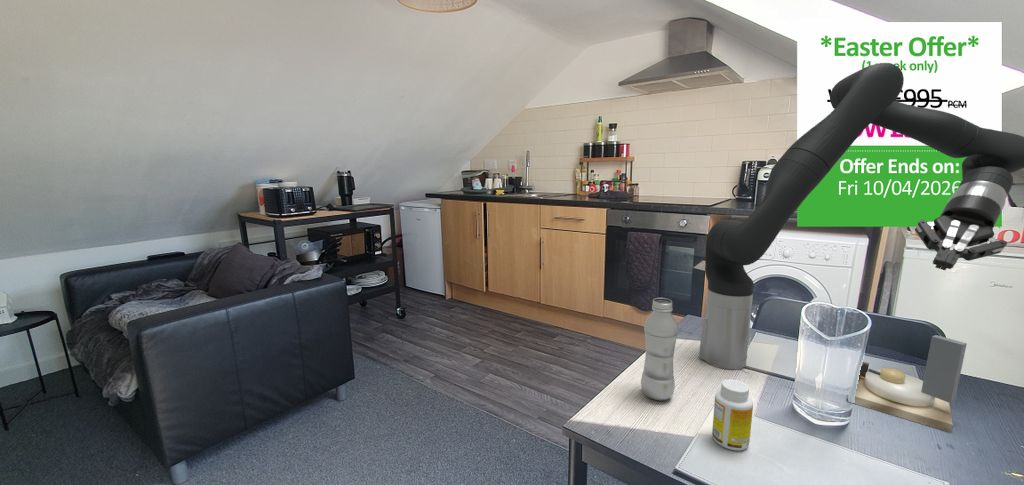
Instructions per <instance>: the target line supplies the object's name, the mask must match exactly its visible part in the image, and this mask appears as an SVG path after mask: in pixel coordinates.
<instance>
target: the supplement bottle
mask: <svg viewBox="0 0 1024 485" xmlns="http://www.w3.org/2000/svg"><path fill="white" fill-rule="evenodd" d="M749 392H750V387H749V386H748V385H747V384H746V383H745V382H742V381H740V380H736V379H730V378H729V379H724V380H722V382H721V386H720V389H719V390H717V391H716V392H715V395H714V405H713V419H712V428H711V429H712V430H711V435H712V438H713V440H714V441H715V443H717V444H718V445H719V446H721V447H722V448H725V449H728V450H731V451H738V452H739V451H744V450H746V449H748V448H749V445H750V442H751V440H750V439H751V430H752V419H753V411H754V401H753V399H752V397H750V394H749Z"/></svg>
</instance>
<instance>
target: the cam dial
mask: <svg viewBox="0 0 1024 485" xmlns="http://www.w3.org/2000/svg"><path fill="white" fill-rule="evenodd" d="M966 348H967V342H963V341H959V340H956V339H952V338H948V337H945V336H940V335H937V334H935V335H932V336H931V339H930V344H929V350H928V353H927V354H928V355H927V361H926V364H925V365H926V366H925V371H924V374H923V376H924V377H923V380H922V379H920V378H917V377H914V376H913V375H909V374H906V373H905V372H903V371H902V370H899V369H896V368H891V367H882V368H880V369H872V368H868V372H866V376H865V382H864V384H865V386H866V387H867V388H868V389H869V390H870V391H872V392H873V393H875V394H877V395H879V396H881V397H883V398H886V399H888V400H891V401H894V402H897V403H901V404H906V405H911V406H920V407H925V406H931V405H933V404H934V402H935V398H938V399H941V400H943V401H946V402H949V404H952V403H954V402H955V401H956V398H957V397H956V396H957V392H958V387H959V383H960V377H961V372H962V368H963V363H964V359H965V355H966V354H965V353H966Z"/></svg>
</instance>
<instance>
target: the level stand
mask: <svg viewBox="0 0 1024 485" xmlns="http://www.w3.org/2000/svg"><path fill="white" fill-rule="evenodd" d="M861 363H862V364H861V365H862V366H861V370H860V375H859V380H858V384H857V389H856V395H855V404H854V405H858V406H860V407H865V408H868V409H870V410H871V409H872V410H874V411H879V412H881V413H885V414H888V415H891V416H895V417H897V418H901V419H904V420H908V421H910V422H911V421H912V422H915V423H918V424H921V425H924V426H928V427H931V428H934V429H937V430H941V431H945V432H947V433H952V430H953V425H954V424H953V418H952V413H951V406H950V403H949V402H946V401H943V400H941V399H938V398H935V402H934V404H933V405H931V406H925V407H920V406H911V405H906V404H901V403H897V402H894V401H891V400H888V399H886V398H883V397H881V396H879V395H877V394H875V393H873V392H872V391H870V390H869V389H868V388H867V387H866V386H865V384H864V382H865V376H866V372H868V369H869V366H870V363H868V362H865V361H863V362H861Z"/></svg>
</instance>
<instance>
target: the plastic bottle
mask: <svg viewBox="0 0 1024 485" xmlns="http://www.w3.org/2000/svg"><path fill="white" fill-rule="evenodd" d="M651 310H652V312H651V313H650V314H649V315H648V316H647V318H646V319H645V321H644V324H643V328H644V329H643V330H644V341H645V342H644V343H645V357H644V365H643V371H642V374H641V378H640V384H641V385H640V386H641V390H642V392H643V394H644V395H645V396H646V397H647V398H650V400H655V401H659V402H660V401H662V402H663V401H667V400H669V399H670V398H672V396H673V395H674V393H675V388H676V385H675V384H676V383H675V376H674V355H675V349H676V348H675V347H676V342H677V339H678V334H679V325H678V322H677V320H676V319H675V317H674V316H673V314H672V312H673V310H674V309H673V301H672V299H671V298H670V299H669V298H665V297H656V298H653V299H652V306H651Z"/></svg>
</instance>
